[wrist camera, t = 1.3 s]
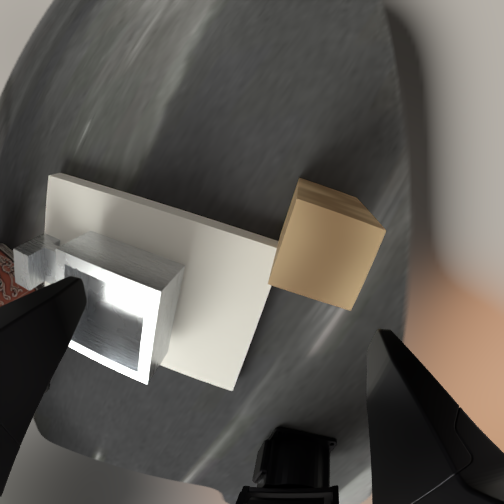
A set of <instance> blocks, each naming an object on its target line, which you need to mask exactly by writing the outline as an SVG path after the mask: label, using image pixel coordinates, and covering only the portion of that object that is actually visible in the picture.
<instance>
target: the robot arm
mask: <svg viewBox="0 0 504 504" xmlns="http://www.w3.org/2000/svg"><path fill="white" fill-rule="evenodd" d="M86 304H87V297H86V293H85V288H84V283H83V280H82V279H81V278H79V277H75V276H69V277H66V278H64V279H62V280H59V281H57V282H55V283H52V284H50V285H48V286H45V287H43V288H41V289H38V290H36V291H34V292H32V293H29V294H27V295H25V296H23V297H20V298H18V299H16V300H14V301H12V302H9V303H7V304H5V305H3V306H1V307H0V496H1V495H2V493H3V491H4V488H5V485H6V482H7V479H8V477H9V474H10V471H11V469H12V466H13V463H14V461H15V458H16V455H17V453H18V451H19V448H20V445H21V443H22V441H23V438H24V436H25V434H26V431H27V429H28V427H29V425H30V422H31V420H32V418H33V416H34V413H35V411H36V409H37V407H38V405H39V403H40V401H41V398H42V396H43V394H44V392H45V390H46V388H47V386H48V384H49V382H50V380H51V378H52V376H53V374H54V372H55V370H56V368H57V366H58V365H59V363H60V361H61V359H62V357H63V355H64V353H65V351H66V350H67V348H68V346H69V344H70V341H71V339H72V337H73V335H74V332H75V330H76V328H77V325H78V323H79V321H80V318H81V316H82V314H83V312H84V310H85V307H86ZM367 412H368V424H369V437H370V452H371V471H372V502H373V504H504V453H503V452H502V451H501V450H500V449H499V448H498V447H497V446H496V445H495V444H494V443H493V442H492V441H491V440H490V439H489V438H488V437H487V436H486V435H485V434H484V433H483V432H482V431H481V430H480V429H479V428H478V427H477V426H476V425H475V423H474V422H473V421H472V420H471V419H470V418H469V417H468V415H467V414H466V413H465V412H464V411H463V410H462V408H459V405H458V404H457V403H456V402H455V401H454V399H453V398H452V397H451V396H450V395H449V394H448V392H447V391H446V390H445V389H444V388H443V387H442V386H441V384H440V383H439V382H438V381H437V380H436V379H435V378H434V377H433V375H432V374H431V373H430V372H429V371H428V370H427V369H426V368H425V366H423V364H422V363H421V362H420V361H419V360H418V359H417V358H416V357H415V355H414V354H413V353H412V352H411V351H410V350H409V349H408V348H407V347H406V346H405V345H404V343H403V342H402V341H401V340H400V339H399V338H398V337H397V336H396V335H395V334H394V333H393V332H392V331H391V330H387V329H378V330H377V331H376V332H375V334H374V337H373V339H372V341H371V343H370V345H369V348H368V351H367ZM280 431H281V432H280ZM336 445H337V440H336V439H333V438H328V437H323V436H318V435H313V434H309V433H304V432H300V431H296V430H292V429H287V428H283V427H277V428H276V429H275V430H274V432H273V433H272V435H271V437H270V438H269V440H265V441H264V443H263V445H262V446H261V448H260V450H259V451H258V454H257V459H256V465H255V470H254V475H253V480H252V481H253V482H254V483H257V487H250V486H243V489H242V491H241V492H240V494H239V496H238V499H237V501H236V504H339V493H338V486H332V487H330V452H331V451H332V450H333V449H334V447H335V446H336Z"/></svg>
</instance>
